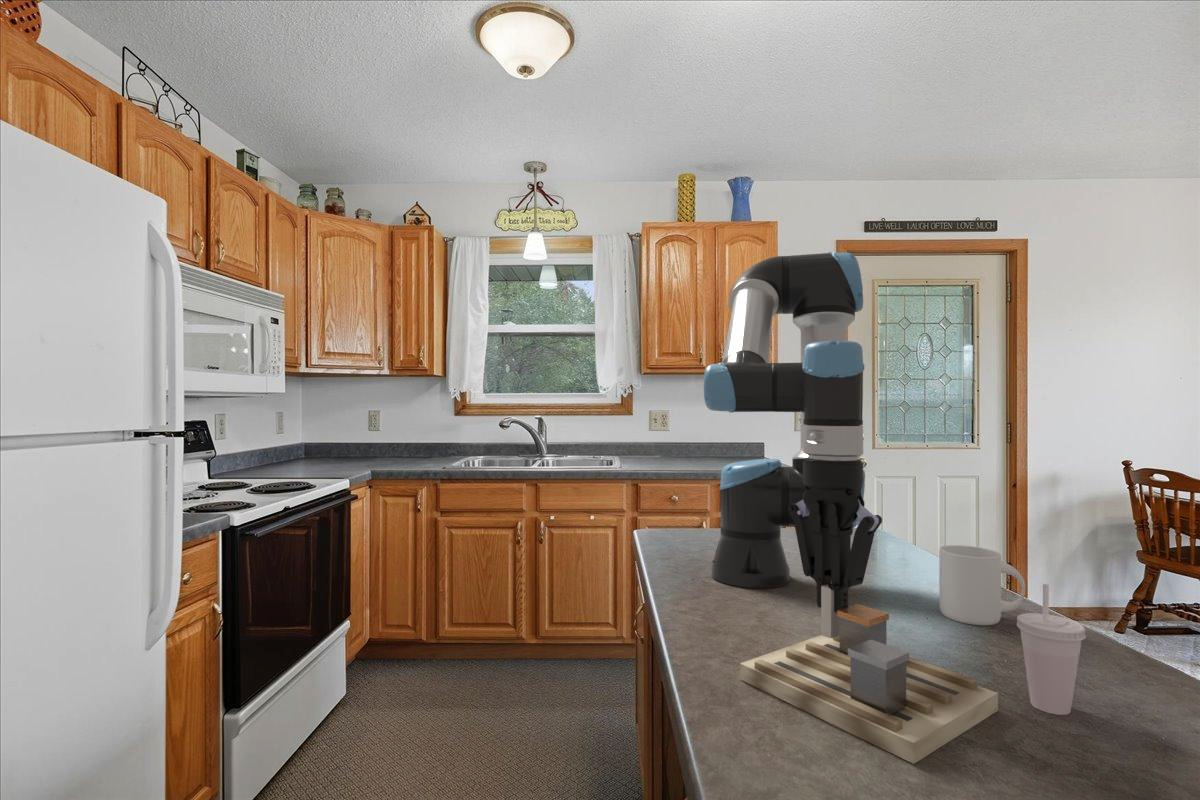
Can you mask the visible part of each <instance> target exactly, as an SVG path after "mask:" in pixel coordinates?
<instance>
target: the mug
mask: <svg viewBox="0 0 1200 800" xmlns="http://www.w3.org/2000/svg"><path fill="white" fill-rule="evenodd" d="M938 551H939V552H938V553H939V555H938V556H939V559H938V560H939V561H938V562H939V565H938V566H939V570H938V571H939V580H938V582H939V587H938V588H939V589H938V590H939V599H938V601H939V610H940V612H941V614H942V615H943V616H944V617H945V618H947V619H950V620H952V621H955V622H958V623H962V624H966V625H972V626H973V625H974V626H993V625H997V624H998V623H999V622H1000V621H1001V618H1002V613H1007V612H1011V611H1014V610H1016V609H1017V608H1019V606H1021V604H1022V603H1023V601H1024V598H1025V594H1026V593H1025V592H1026V583H1025V580H1024V577H1023V576H1022V574H1021V573H1020V572H1019V571H1018V570H1017V569H1016V568H1015V567H1014V566H1012V565H1011V564H1009V563H1007V562H1005V561H1003V560H1002V554H1001V553H1000V552H998V551H995V550H993V549H989V548H983V547H978V546H971V545H961V544H960V545H959V544H958V545H957V544H955V545H953V544H952V545H951V544H950V545H942V546H940V547H939V550H938ZM1002 574H1007V575H1010V576H1013V577H1014V578H1015V579H1016V580H1017V581H1018V582H1019V583H1020V586H1021V587H1020V588H1021V593H1020V596H1018V598H1017V599H1015V600H1014V601H1006V600H1004V599H1002Z"/></svg>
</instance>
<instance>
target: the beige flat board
mask: <svg viewBox="0 0 1200 800" xmlns="http://www.w3.org/2000/svg"><path fill="white" fill-rule="evenodd" d="M739 680H741V681H742V682H744V683H747V684H749V685H751V686H753V687H755V688H757V689H758V690H762V691H763V692H765V693H767V694H769V695H771V696H774V697H775V698H777V699H779V700H781V701H784V702H786V703H788V704H790V705H792V706H794V707H796V708H798V709H800V710H802V711H804V712H806V713H808V714H809V715H810V714H811V715H812V716H815V717H817V718H818V719H821V720H823V721H825V722H827V723H829V724H830V725H832V726H835V727H837V728H839V729H841V730H844V731H845V732H848V733H849V734H851V735H854V736H856V737H857V738H859V739H862V740H864V741H866V742H868V743H869V744H872V745H874V746H877V747H879V748H880V749H883V750H884V751H886V752H888V753H891V754H893V755H894V756H897V757H899V758H901V759H903V760H905V761H907V762H909V763H911V764H912V765H913V764H917V762H919V761H922V759H924V758H926V757H927V756H928V755H930V754H932V753H933V752H935V751H937V750H939V749H940V748H942V747H943V746H944V745H946V744H948V743H949V742H951V741H952V740H954V739H955V738H957V737H959V736H960V735H963V734H964V733H965V732H967V731H968V730H970V729H972V728H973V727H974V726H976V725H978V724H979V723H981V722H982V721H984V720H985V719H987V718H989V717H991V716H992V715H993V714H995V713H997V712H999V692H996V691H993V690H991V689H988V688H985V687H983V686H980V685H978V680H977V679H975V678H972V677H969V676H966V675H963V674H960V673H958V672H955V671H952V670H949V669H946V668H943V667H939V666H937V665H934V664H931V663H929V662H925V661H923V660H919V659H916V658H914V657H911V656H909V660H908V661H906V707H905V708H903V709H901V710H899V711H897V712H895V713H893V714H891V715H888V714H885V713H883V712H881V711H878V710H876V709H874V708H871V707H869V706H867V705H865V704H862V703H860V702H858V701H855V700H853V699H851V657H850V656H848V655H845V654H843V653H840V636H837V637H834V638H828V637H825V636H822V635H821V634H820V635H817V636H813V637H811V638H809V639H806V640H803V641H800V642H797V643H793V644H791V645H789V646H785V647H783V648H780V649H777V650H774V651H772V652H768V653H766V654H763V655H760V656H757V657H754V658H751V659H748V660H746V661H743V662H740V663H739Z"/></svg>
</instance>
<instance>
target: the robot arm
mask: <svg viewBox="0 0 1200 800" xmlns="http://www.w3.org/2000/svg"><path fill="white" fill-rule="evenodd" d="M859 264H860V263H859V261H858V259H857V257H856V256H855V255H854V254H853V253H851V252H832V251H829V252H825V253H824V252H823V253H811V254H810V253H808V254H797V255H779V256H778V255H777V256H771V257H768V258H765V259H763V260H760V261H759V262H757V263H755V264H754V265H752V266H750V267H749V268H748V269H746V270H745V271H744V272H743V273H741V275H740V276H739V277H738V278H737V279H736V281H734V284H733V285H732V287H731V288H730V289H731V290H730V293H729V297H728V307H729V310H730V313H731V314H730V319H729V325H728V329H727V335H726V339H725V346H724V349H723V350H724V351H723V354H722V355H723V356H722V361H721V362H719V363H712V364H709V365H707V366H706V368H705V370H704V375H703V376H704V377H703V398H704V403H705V406H706V407H707V408H708V410H710V411H713V412H714V411H715V412H717V411H718V412H728V413H755V412H756V413H758V412H759V413H760V412H761V413H772V412H773V413H775V412H776V413H800V448H799V450H798V452H796V454H794V455H793V456H792V458H791V459H792V466H782V464H783V463H782V462H781V460H780V459H779V458H760V459H759V458H758V459H751V460H750V459H749V460H741V461H735V462H731V463H728V464H726V465H725V466H723V468H722V470H721V473H720V485H719V491H720V525H719V526H720V532H719V534H720V536H719V540H718V544H717V546H716V549H715V555H714V559H712V561H711V577H712V578H713V579H715V580H716V581H717V582H720V583H723V584H727V585H731V586H735V587H736V586H737V587H742V588H753V589H756V588H757V589H760V588H761V589H766V588H767V589H768V588H776V587H782V586H784V585H786V584H788V583H789V582H790V580H791V576H790V575H791V574H790V573H791V570H790V569H791V568H790V566H789V564H788V562H787V558H786V554H785V551H784V547H783V544H782V540H781V539H782V538H781V529H782V528H783V527H785V528H787V527H788V528H795V529H794V530H795V535H796V539H797V545H798V549H799V554H800V560H801V565H802V571H803V575H804V576H805V577H810V578H811V579H813V580H814V582H815V583H816V604H817V608H821V609H820V610H821V611H820V613H821V614H820V615H821V616H820V618H821V619H820V620H821V621H820V622H821V623H820V625H821V626H820V629H821V630H820V635H822V636H825V637H828V638H834V637H837V636H840V617H837V610H840V609H843V608H846V607H849V589H850V588H853V587H856V586H861V585H862V584H863V582H864V579H865V575H866V571H867V566H868V564H869V563H868V562H869V559H870V554H871V550H872V545H873V542H874V541H873V540H874V537H875V533H876V531H877V530H878V528H879V527H880V526H881V524H882V522H883V518H882V516H881V515H879V514H873V513H872V512H870V511H869V510H868V509H867V508H866V507H865V500H864V497H865V484H866V483H865V481H866V480H865V479H866V471H865V470H864V462H862V460H860V459H859V457H861V456H863V455H864V425H863V424H864V420H863V406H864V405H863V403H864V370H865V364H864V357H863V356H864V355H863V351H864V350H863V347H862V345H861V344H860V343H859V342H856V341H851V340H847V339H848V336H847V335H848V333H847V332H848V330H847V329H848V327H849V326H850V325H851V324H852V323H853V322H855V320H856V313H858V312H861V311H862V310H863V308H864V294H863V291H864V290H863V279H862V273H861V269H860V265H859ZM782 314H783V315H789V314H790V315H792V323H793V324H794V325H795V326H796V327H797V328H798V329H799V330H800V362H770V358H771V357H770V355H771V342H772V341H771V340H772V330H773V328H772V327H773V326H772V325H773V317H774V316H775V315H782ZM781 527H782V528H781ZM854 529H855V532H854V534H853V531H854ZM852 535H853V539H852V543H851V538H852V537H851V536H852Z"/></svg>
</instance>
